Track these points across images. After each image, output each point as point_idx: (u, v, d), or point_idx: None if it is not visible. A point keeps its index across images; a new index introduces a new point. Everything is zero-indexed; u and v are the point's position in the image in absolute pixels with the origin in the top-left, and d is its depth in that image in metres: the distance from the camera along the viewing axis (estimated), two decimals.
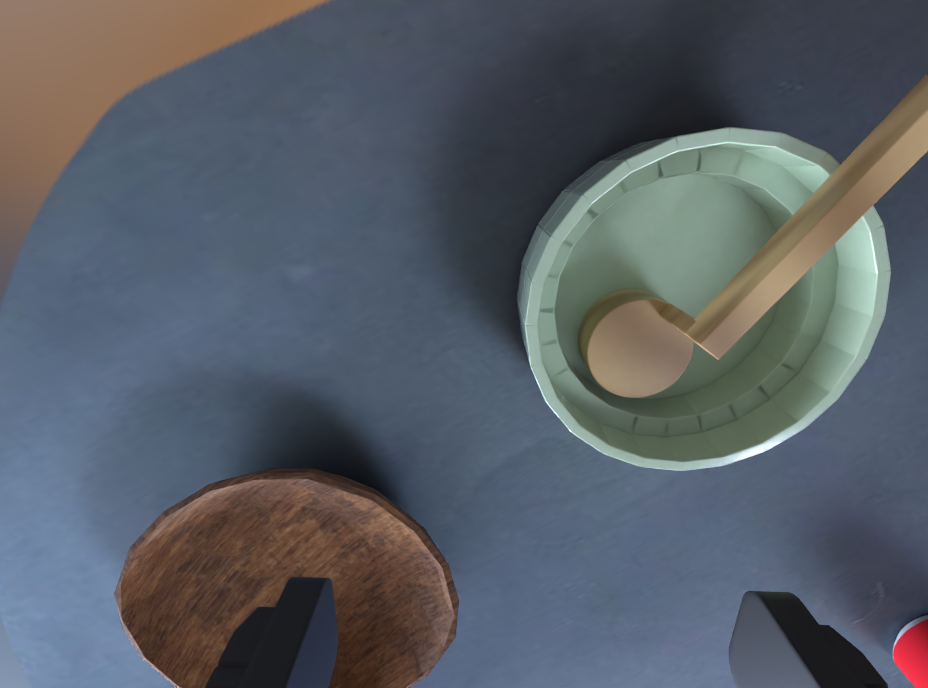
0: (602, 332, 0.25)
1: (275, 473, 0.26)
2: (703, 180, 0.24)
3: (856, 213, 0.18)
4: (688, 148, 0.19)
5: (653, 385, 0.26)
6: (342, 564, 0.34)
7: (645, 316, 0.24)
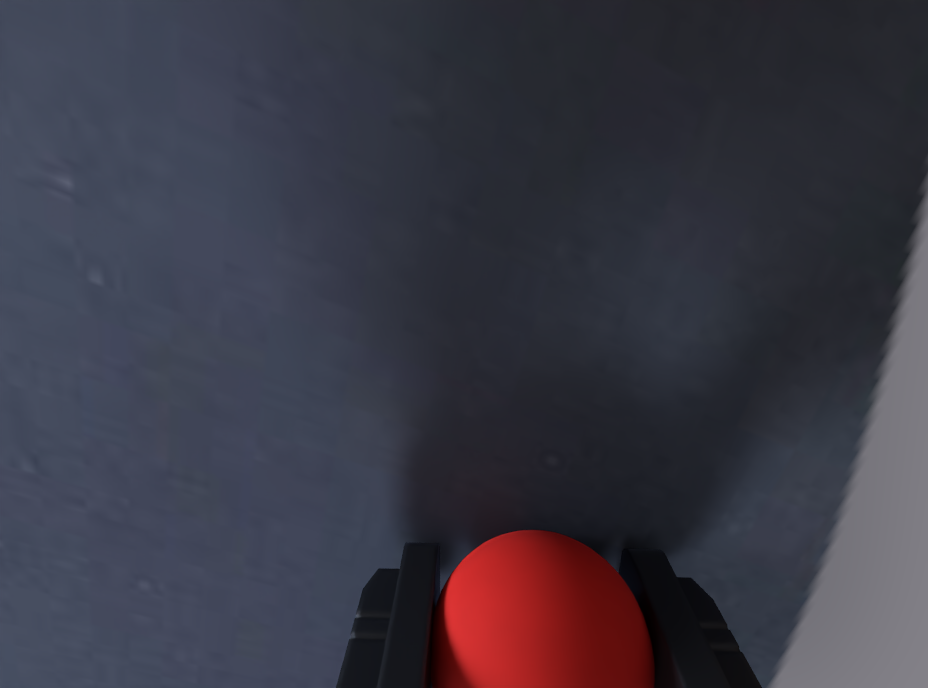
0: None
1: None
2: None
3: None
4: None
5: None
6: None
7: None
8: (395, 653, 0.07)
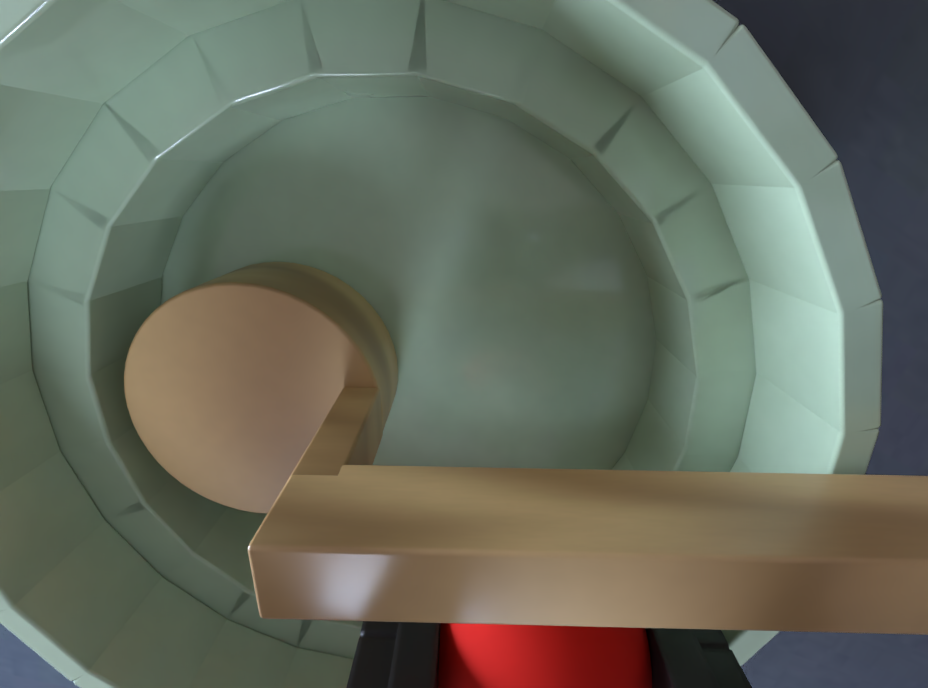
0: (215, 308, 0.10)
1: None
2: (631, 271, 0.11)
3: (840, 618, 0.06)
4: (729, 91, 0.06)
5: (219, 484, 0.11)
6: None
7: (317, 365, 0.10)
8: (405, 651, 0.07)
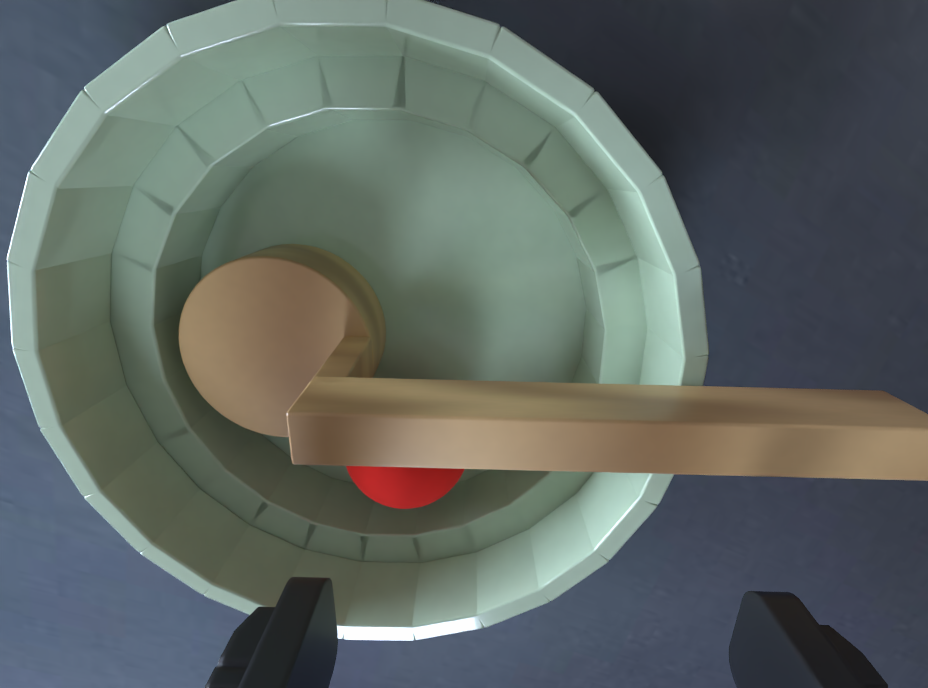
0: (250, 275, 0.13)
1: None
2: (565, 254, 0.15)
3: (658, 462, 0.09)
4: (591, 131, 0.09)
5: (247, 412, 0.14)
6: None
7: (325, 319, 0.13)
8: None
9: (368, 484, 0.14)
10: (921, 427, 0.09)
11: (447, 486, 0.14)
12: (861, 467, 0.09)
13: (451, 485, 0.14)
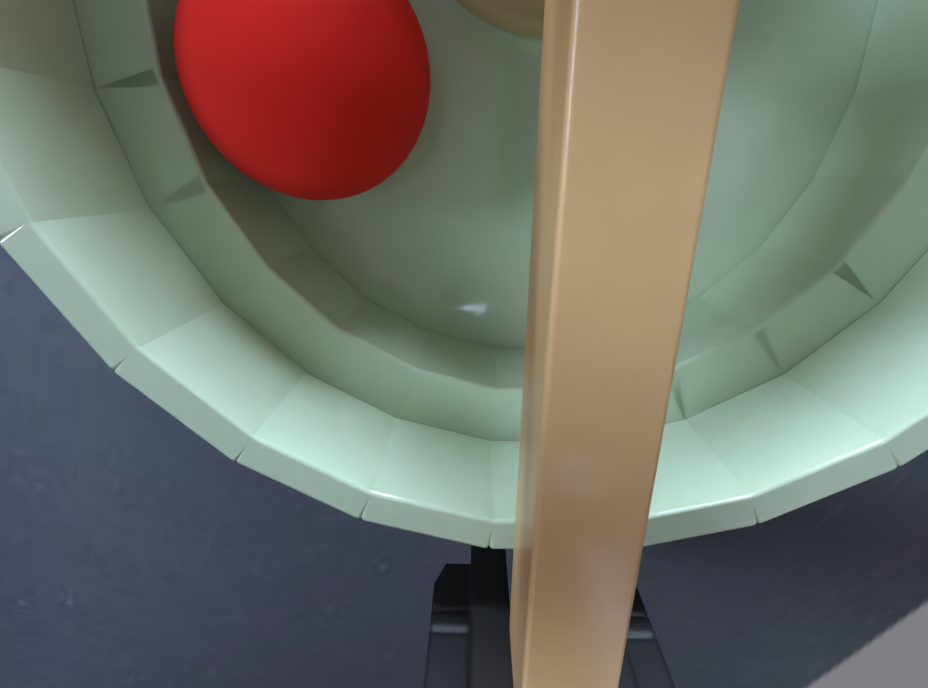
0: None
1: None
2: None
3: (558, 569, 0.05)
4: None
5: None
6: None
7: None
8: (481, 645, 0.08)
9: None
10: None
11: (235, 166, 0.08)
12: None
13: None
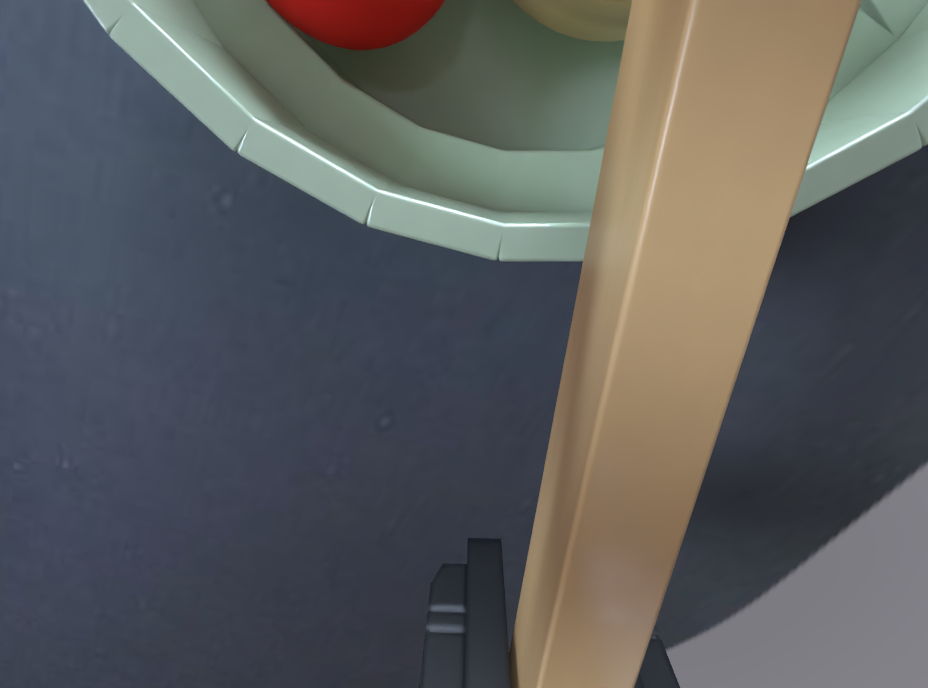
0: None
1: None
2: None
3: (590, 573, 0.05)
4: None
5: None
6: None
7: None
8: (477, 645, 0.08)
9: None
10: None
11: None
12: None
13: None
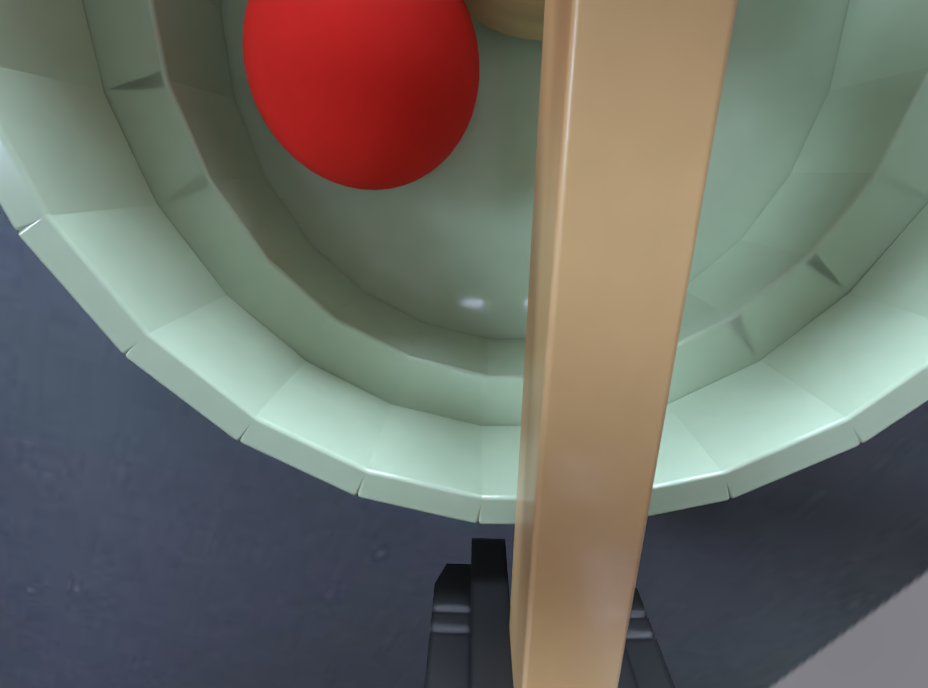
0: None
1: None
2: None
3: (557, 570, 0.05)
4: None
5: None
6: None
7: None
8: (482, 645, 0.08)
9: None
10: None
11: None
12: None
13: None
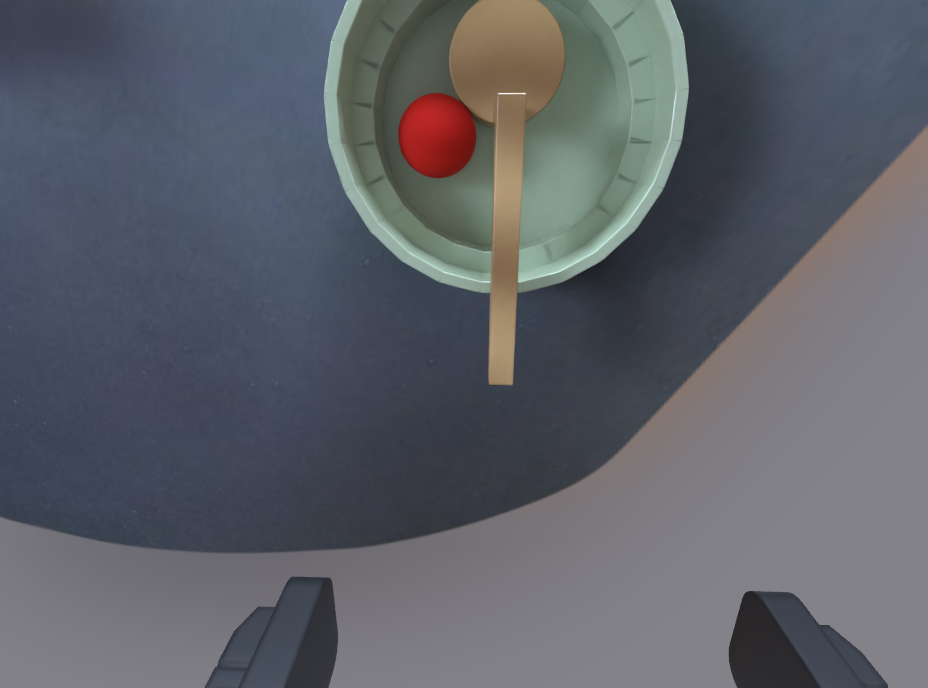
0: (555, 50, 0.23)
1: None
2: (541, 231, 0.28)
3: (498, 272, 0.22)
4: (621, 228, 0.23)
5: (466, 34, 0.22)
6: None
7: (527, 95, 0.23)
8: None
9: None
10: None
11: (398, 130, 0.24)
12: (495, 355, 0.23)
13: (398, 134, 0.24)
